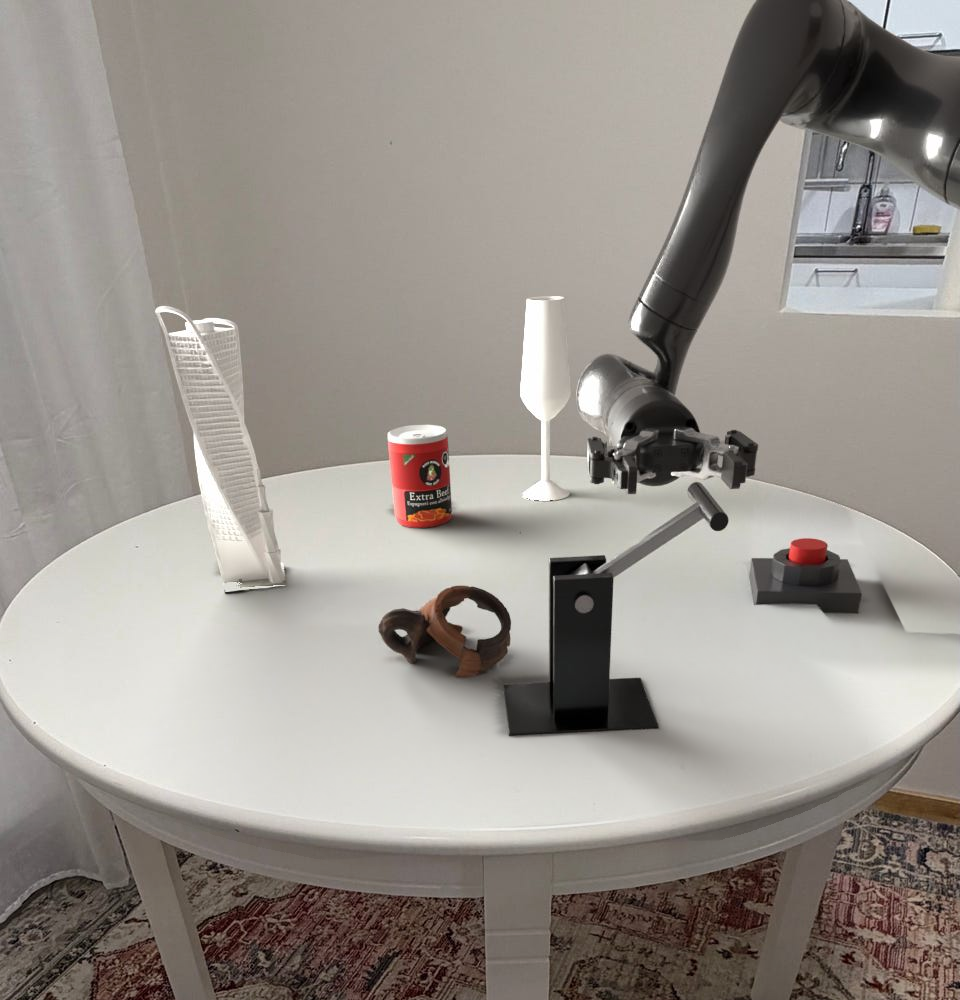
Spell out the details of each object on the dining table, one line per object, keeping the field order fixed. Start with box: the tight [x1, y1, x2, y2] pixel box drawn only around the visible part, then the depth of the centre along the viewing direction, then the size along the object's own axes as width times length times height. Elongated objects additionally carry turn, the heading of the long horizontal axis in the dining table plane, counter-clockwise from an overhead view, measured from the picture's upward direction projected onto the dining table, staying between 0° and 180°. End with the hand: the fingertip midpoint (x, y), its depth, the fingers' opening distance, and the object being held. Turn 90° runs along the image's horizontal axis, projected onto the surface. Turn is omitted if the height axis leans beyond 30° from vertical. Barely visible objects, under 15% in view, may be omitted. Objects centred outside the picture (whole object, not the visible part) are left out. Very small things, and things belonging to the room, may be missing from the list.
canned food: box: [387, 424, 453, 529], centre depth 124 cm, size 8×8×11 cm
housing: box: [748, 547, 863, 614], centre depth 99 cm, size 10×10×4 cm
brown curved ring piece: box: [378, 585, 512, 678], centre depth 87 cm, size 12×10×8 cm
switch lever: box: [568, 481, 730, 578], centre depth 72 cm, size 13×8×2 cm
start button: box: [788, 537, 828, 565], centre depth 97 cm, size 4×4×2 cm
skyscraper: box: [155, 305, 287, 588], centre depth 103 cm, size 8×8×28 cm
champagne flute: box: [519, 295, 572, 502], centre depth 127 cm, size 7×7×24 cm
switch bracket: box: [503, 554, 660, 737], centre depth 76 cm, size 12×9×13 cm
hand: (685, 479), depth 78 cm, fingers open, 8 cm apart
